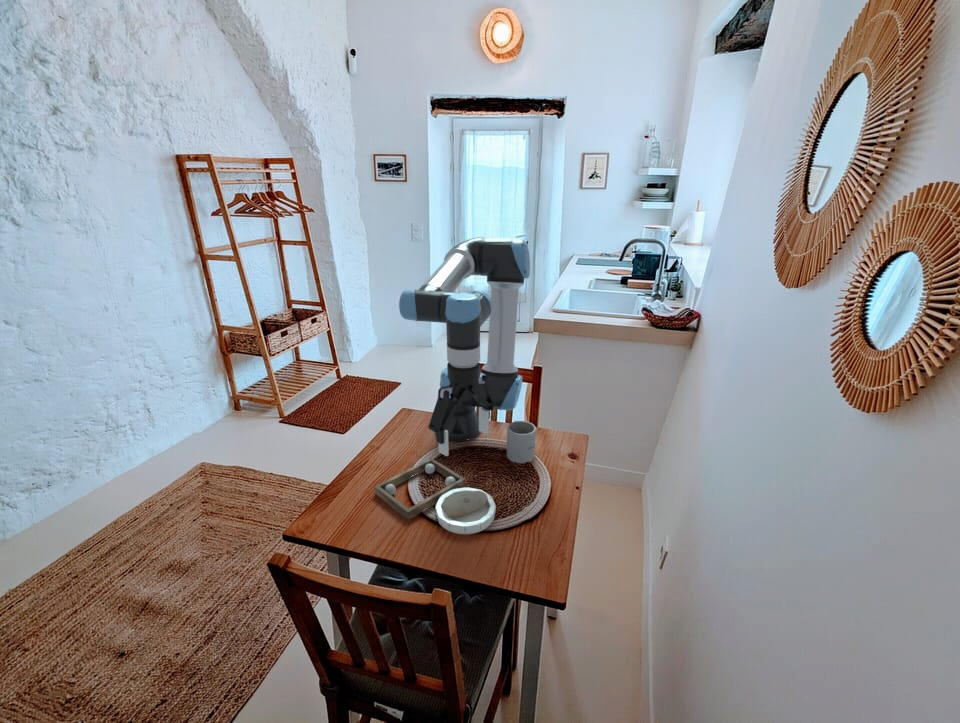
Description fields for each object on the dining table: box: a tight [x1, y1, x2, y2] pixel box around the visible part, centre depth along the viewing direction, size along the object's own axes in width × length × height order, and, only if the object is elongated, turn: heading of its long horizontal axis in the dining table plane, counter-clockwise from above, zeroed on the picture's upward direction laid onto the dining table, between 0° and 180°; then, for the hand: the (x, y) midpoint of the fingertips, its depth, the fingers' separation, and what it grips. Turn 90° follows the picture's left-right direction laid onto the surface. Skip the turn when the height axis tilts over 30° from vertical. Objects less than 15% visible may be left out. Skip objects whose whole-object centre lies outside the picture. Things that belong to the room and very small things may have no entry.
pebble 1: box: [385, 484, 397, 496], centre depth 129 cm, size 3×3×3 cm
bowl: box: [435, 486, 497, 535], centre depth 121 cm, size 15×15×3 cm
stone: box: [443, 490, 487, 517], centre depth 121 cm, size 6×6×12 cm
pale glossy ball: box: [424, 464, 436, 475], centre depth 138 cm, size 3×3×3 cm
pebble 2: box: [444, 476, 456, 487], centre depth 132 cm, size 3×3×3 cm
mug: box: [506, 420, 537, 464], centre depth 147 cm, size 12×9×10 cm
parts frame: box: [374, 457, 466, 521], centre depth 131 cm, size 20×15×2 cm
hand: (464, 442), depth 115 cm, fingers open, 13 cm apart
